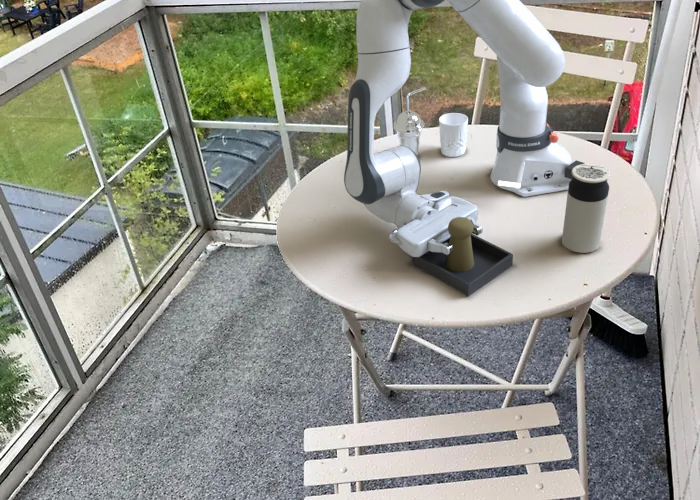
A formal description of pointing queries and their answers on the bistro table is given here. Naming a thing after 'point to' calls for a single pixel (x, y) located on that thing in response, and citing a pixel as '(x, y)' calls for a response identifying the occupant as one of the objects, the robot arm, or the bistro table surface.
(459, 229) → the olive pawn
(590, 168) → the travel mug
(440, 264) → the bin
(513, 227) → the bistro table surface
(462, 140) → the white cup
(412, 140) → the cup with straw
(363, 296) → the bistro table surface
